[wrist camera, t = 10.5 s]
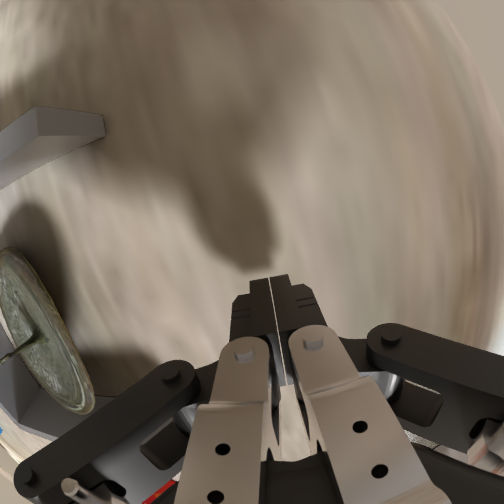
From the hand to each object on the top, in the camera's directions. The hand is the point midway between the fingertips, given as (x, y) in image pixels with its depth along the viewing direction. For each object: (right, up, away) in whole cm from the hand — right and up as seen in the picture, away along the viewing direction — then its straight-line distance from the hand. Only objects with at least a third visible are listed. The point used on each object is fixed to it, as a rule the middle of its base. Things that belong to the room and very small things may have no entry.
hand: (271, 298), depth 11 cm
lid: (-13, -2, +2) cm, 13 cm away
